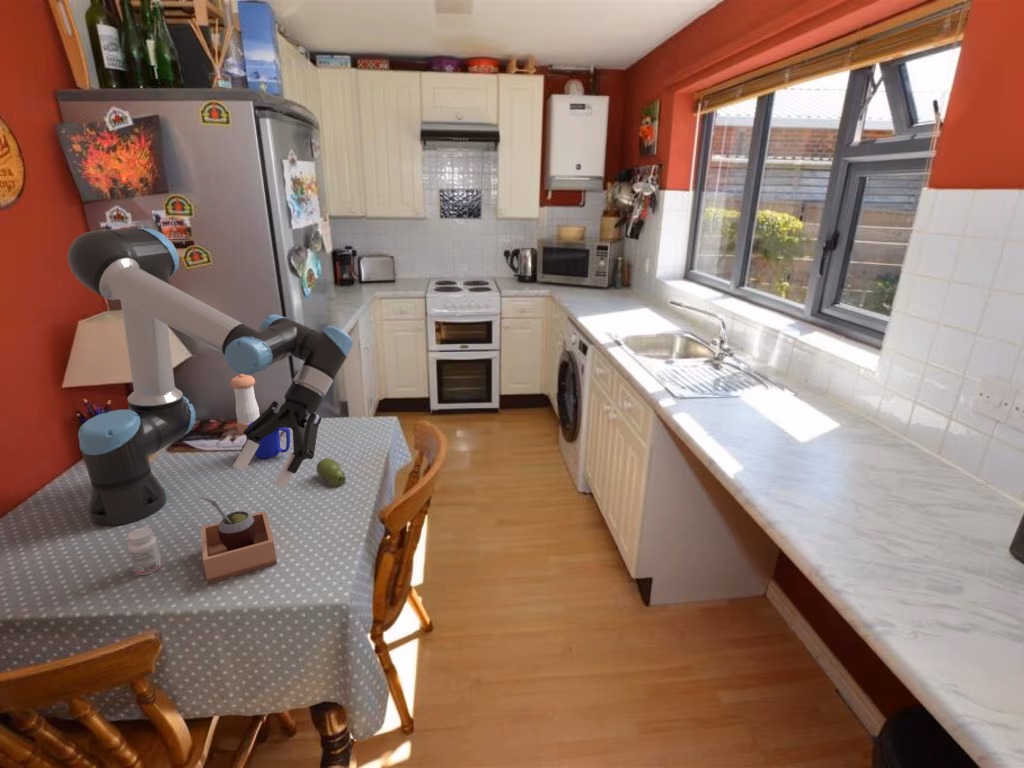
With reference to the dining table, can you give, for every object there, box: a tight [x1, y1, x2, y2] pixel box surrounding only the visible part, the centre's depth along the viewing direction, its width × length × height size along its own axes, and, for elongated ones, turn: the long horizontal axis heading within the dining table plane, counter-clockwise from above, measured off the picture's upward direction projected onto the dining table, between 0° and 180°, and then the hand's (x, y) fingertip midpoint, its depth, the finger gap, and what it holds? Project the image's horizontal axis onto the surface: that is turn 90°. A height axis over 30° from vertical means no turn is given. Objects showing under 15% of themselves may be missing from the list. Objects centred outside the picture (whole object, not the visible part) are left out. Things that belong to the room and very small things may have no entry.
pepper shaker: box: [229, 373, 261, 435], centre depth 168 cm, size 7×7×19 cm
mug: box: [248, 421, 291, 460], centre depth 153 cm, size 8×12×10 cm
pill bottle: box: [127, 526, 163, 576], centre depth 106 cm, size 5×5×8 cm
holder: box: [200, 510, 278, 585], centre depth 111 cm, size 13×13×6 cm
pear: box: [315, 457, 347, 488], centre depth 142 cm, size 6×5×10 cm
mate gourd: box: [197, 495, 257, 551], centre depth 109 cm, size 8×8×15 cm
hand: (258, 477), depth 111 cm, fingers open, 13 cm apart
